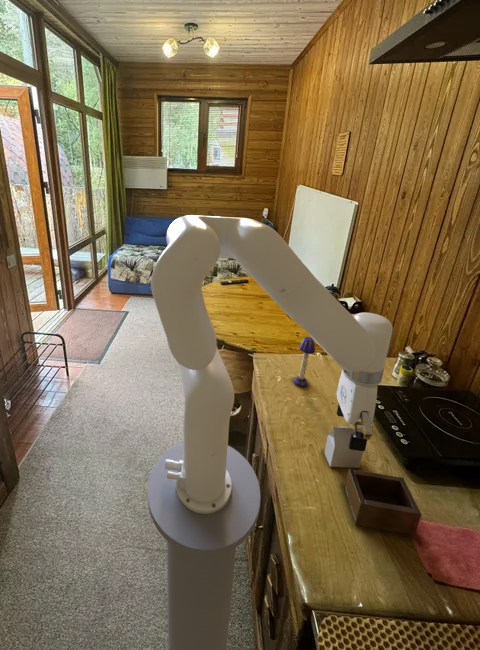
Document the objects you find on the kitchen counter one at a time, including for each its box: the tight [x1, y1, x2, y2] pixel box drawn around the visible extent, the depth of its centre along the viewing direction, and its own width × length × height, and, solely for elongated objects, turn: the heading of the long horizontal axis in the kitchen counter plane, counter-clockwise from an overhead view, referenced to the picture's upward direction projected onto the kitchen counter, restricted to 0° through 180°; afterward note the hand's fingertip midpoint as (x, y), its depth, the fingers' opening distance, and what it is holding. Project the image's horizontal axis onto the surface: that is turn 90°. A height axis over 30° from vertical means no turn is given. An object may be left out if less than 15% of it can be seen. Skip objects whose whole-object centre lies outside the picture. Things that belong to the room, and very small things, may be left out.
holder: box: [344, 468, 422, 536], centre depth 62 cm, size 11×7×6 cm
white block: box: [324, 425, 364, 469], centre depth 73 cm, size 4×7×10 cm, turn 89°
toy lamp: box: [293, 336, 316, 388], centre depth 99 cm, size 5×5×17 cm
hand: (349, 431), depth 71 cm, fingers open, 9 cm apart
